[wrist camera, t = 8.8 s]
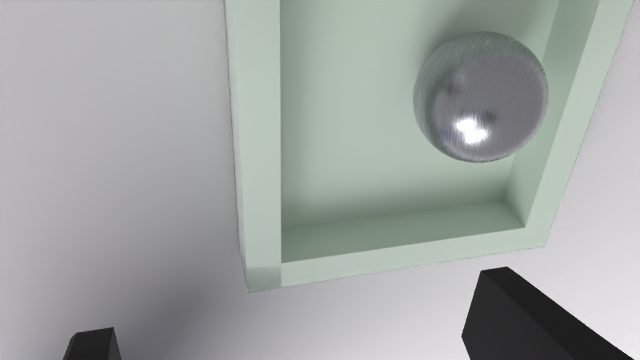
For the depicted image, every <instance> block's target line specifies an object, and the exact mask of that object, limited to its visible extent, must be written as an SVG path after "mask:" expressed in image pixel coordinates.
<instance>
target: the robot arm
mask: <svg viewBox="0 0 640 360" xmlns="http://www.w3.org/2000/svg"><path fill="white" fill-rule="evenodd" d="M461 337H462V339H463V342H464V344H465V347H466V349H467V352H468V354H469V357H470V360H634V359H632V358H631V357H630V356H628V355H627V354H625V353H624V352H622V351H621V350H619V349H618V348H617V347H615V346H614V345H612V344H611V343H610V342H608V341H607V340H605V339H604V338H603V337H601V336H600V335H599V334H597V333H596V332H594V331H593V330H592V329H590V328H589V327H588V326H586V325H585V324H584V323H582V322H581V321H579V320H578V319H577V318H575V317H574V316H573V315H571V314H570V313H569V312H567V311H566V310H565V309H563V308H562V307H561V306H560V305H558V304H557V303H556V302H554V301H553V300H552V299H550V298H549V297H548V296H546V295H545V294H544V293H542V292H541V291H540V290H538V289H537V288H536V287H534V286H533V285H532V284H530V283H529V282H528V281H526V280H525V279H524V278H522V277H521V276H520V275H518V274H517V273H516V272H514V271H513V270H511V269H510V268H509V267H501V268H495V269H488V270H482V271H481V272H480V275H479V279H478V282H477V285H476V289H475V292H474V295H473V299H472V302H471V306H470V309H469V312H468V316H467V319H466V322H465V326H464V329H463V332H462V336H461ZM63 360H121V356H120V352H119V348H118V344H117V340H116V336H115V332H114V328H113V327H111V328H105V329H98V330H92V331H85V332H79V333H76V334H75V335H74V336H73V337H72V338H71V340H70V342H69V345H68V348H67V350H66V353H65V356H64V358H63Z"/></svg>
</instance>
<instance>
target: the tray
mask: <svg viewBox="0 0 640 360" xmlns="http://www.w3.org/2000/svg"><path fill="white" fill-rule="evenodd" d="M633 2H634V0H224V10H225V26H226V42H227V58H228V73H229V89H230V105H231V121H232V137H233V153H234V168H235V184H236V200H237V216H238V232H239V248H240V253H241V258H242V264H243V269H244V274H245V279H246V284H247V289H248V293H250V292H257V291H263V290H269V289H276V288H282V287H289V286H295V285H301V284H308V283H314V282H321V281H327V280H333V279H340V278H346V277H353V276H359V275H365V274H372V273H378V272H385V271H391V270H398V269H404V268H410V267H417V266H423V265H430V264H436V263H442V262H449V261H455V260H462V259H468V258H474V257H481V256H487V255H494V254H500V253H506V252H513V251H519V250H526V249H532V248H538V247H544V246H545V243H546V240H547V237H548V235H549V232H550V229H551V226H552V224H553V221H554V218H555V216H556V213H557V210H558V207H559V205H560V202H561V199H562V196H563V194H564V191H565V188H566V185H567V183H568V180H569V177H570V174H571V172H572V169H573V166H574V163H575V161H576V158H577V155H578V152H579V150H580V147H581V144H582V142H583V139H584V136H585V133H586V131H587V128H588V125H589V122H590V120H591V117H592V114H593V111H594V109H595V106H596V103H597V100H598V98H599V95H600V92H601V89H602V87H603V84H604V81H605V79H606V76H607V73H608V70H609V68H610V65H611V62H612V59H613V57H614V54H615V51H616V48H617V46H618V43H619V40H620V37H621V35H622V32H623V29H624V26H625V24H626V21H627V18H628V15H629V13H630V10H631V7H632V5H633ZM477 31H491V32H498V33H501V34H505V35H508V36H510V37H512V38H514V39H516V40H518V41H520V42H521V43H523V44H524V45H525V46H526V47H528V48H529V49H530V50H531V51H532V52H533V53H534V54H535V56H536V57H537V59H538V60H539V62H540V63H541V65H542V67H543V69H544V71H545V74H546V78H547V82H548V88H549V100H548V107H547V112H546V115H545V118H544V120H543V122H542V124H541V126H540V128H539V130H538V131H537V133H536V134H535V135H534V137H533V138H532V139H531V140H530V141H529V142H528V143H527V144H526V145H525V146H524V147H522V148H521V149H520V150H518V151H517V152H515V153H513V154H512V155H510V156H508V157H505V158H503V159H500V160H497V161H493V162H487V163H471V162H464V161H459V160H456V159H453V158H451V157H449V156H447V155H445V154H443V153H442V152H440V151H439V150H438V149H436V148H435V147H434V146H433V145H432V144H431V143H430V142H429V141H428V140H427V139H426V138H425V136H424V135H423V133H422V132H421V130H420V128H419V126H418V124H417V121H416V118H415V114H414V109H413V90H414V85H415V81H416V78H417V76H418V73H419V71H420V69H421V67H422V65H423V64H424V62H425V61H426V59H427V58H428V57H429V56H430V55H431V54H432V53H433V52H434V50H436V49H437V48H438V47H439V46H441V45H442V44H443V43H445V42H447V41H448V40H450V39H452V38H454V37H457V36H459V35H462V34H465V33H470V32H477Z"/></svg>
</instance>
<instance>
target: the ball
mask: <svg viewBox="0 0 640 360" xmlns="http://www.w3.org/2000/svg"><path fill="white" fill-rule="evenodd" d="M548 100H549V88H548V82H547V78H546V74H545V71H544V69H543V67H542V65H541V63H540V62H539V60H538V59H537V57H536V56H535V54H534V53H533V52H532V51H531V50H530V49H529V48H528V47H526V46H525V45H524V44H523V43H521V42H520V41H518V40H516V39H514V38H512V37H510V36H508V35H505V34H501V33H498V32H491V31H477V32H470V33H465V34H462V35H459V36H457V37H454V38H452V39H450V40H448V41H447V42H445V43H443V44H442V45H441V46H439V47H438V48H437V49H436V50H434V52H433V53H432V54H431V55H430V56H429V57H428V58H427V59H426V61H425V62H424V64H423V65H422V67H421V69H420V71H419V73H418V76H417V78H416V81H415V85H414V90H413V109H414V114H415V118H416V121H417V124H418V126H419V128H420V130H421V132H422V133H423V135H424V136H425V138H426V139H427V140H428V141H429V142H430V143H431V144H432V145H433V146H434V147H435V148H436V149H438V150H439V151H440V152H442V153H443V154H445V155H447V156H449V157H451V158H453V159H456V160H459V161H464V162H471V163H487V162H493V161H497V160H500V159H503V158H505V157H508V156H510V155H512V154H513V153H515V152H517V151H518V150H520V149H521V148H522V147H524V146H525V145H526V144H527V143H528V142H529V141H530V140H531V139H532V138H533V137H534V135H535V134H536V133H537V131H538V130H539V128H540V126H541V124H542V122H543V120H544V118H545V115H546V112H547V107H548Z"/></svg>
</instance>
